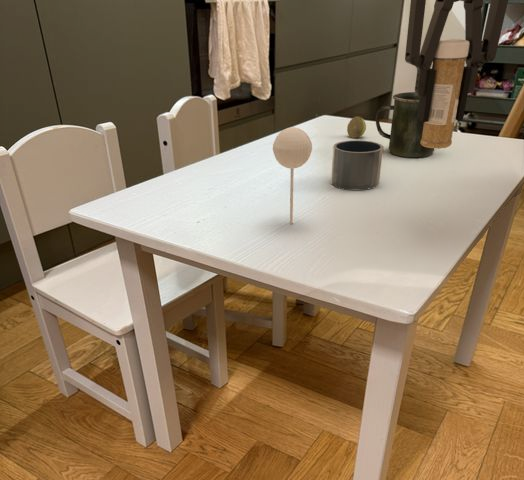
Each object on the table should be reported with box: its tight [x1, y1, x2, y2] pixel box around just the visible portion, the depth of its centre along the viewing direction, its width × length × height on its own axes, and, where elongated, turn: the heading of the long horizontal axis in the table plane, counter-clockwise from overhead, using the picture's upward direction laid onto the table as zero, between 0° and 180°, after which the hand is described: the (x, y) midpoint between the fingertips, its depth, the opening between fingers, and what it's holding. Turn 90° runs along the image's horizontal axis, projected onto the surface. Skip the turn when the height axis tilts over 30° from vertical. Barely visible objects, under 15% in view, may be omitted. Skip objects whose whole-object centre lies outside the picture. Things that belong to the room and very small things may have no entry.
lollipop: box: [272, 126, 313, 225], centre depth 79 cm, size 6×6×15 cm
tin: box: [331, 139, 384, 190], centre depth 98 cm, size 9×9×7 cm
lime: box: [346, 115, 367, 139], centre depth 129 cm, size 4×5×5 cm
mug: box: [375, 91, 436, 158], centre depth 114 cm, size 11×15×12 cm
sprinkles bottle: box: [420, 38, 470, 149], centre depth 71 cm, size 5×5×14 cm
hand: (439, 118), depth 73 cm, fingers closed on sprinkles bottle, 4 cm apart
